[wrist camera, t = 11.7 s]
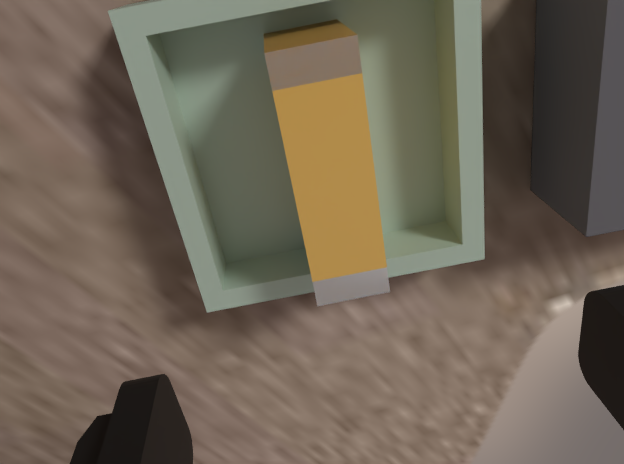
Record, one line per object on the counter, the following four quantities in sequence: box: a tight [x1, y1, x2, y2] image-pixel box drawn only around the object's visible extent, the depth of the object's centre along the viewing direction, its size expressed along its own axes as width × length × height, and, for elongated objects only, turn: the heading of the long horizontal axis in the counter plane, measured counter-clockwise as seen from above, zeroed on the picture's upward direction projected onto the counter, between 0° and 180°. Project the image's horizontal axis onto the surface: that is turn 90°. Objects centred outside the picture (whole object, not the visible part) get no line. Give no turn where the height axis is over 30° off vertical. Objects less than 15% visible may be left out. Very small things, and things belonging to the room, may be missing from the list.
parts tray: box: [108, 0, 485, 312], centre depth 22 cm, size 13×13×3 cm
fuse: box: [263, 19, 390, 306], centre depth 21 cm, size 3×5×10 cm
